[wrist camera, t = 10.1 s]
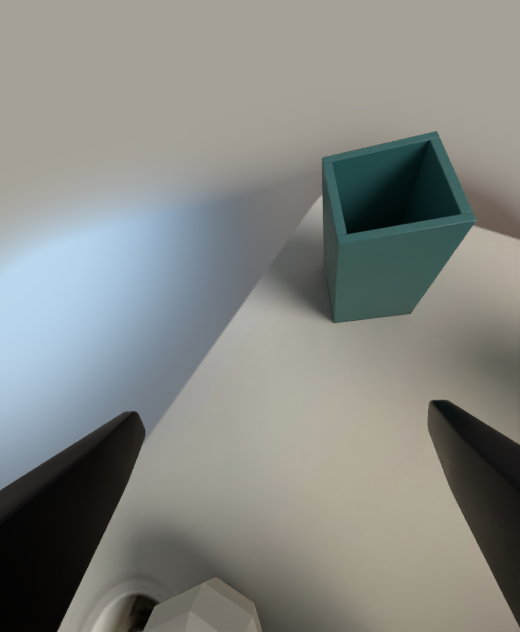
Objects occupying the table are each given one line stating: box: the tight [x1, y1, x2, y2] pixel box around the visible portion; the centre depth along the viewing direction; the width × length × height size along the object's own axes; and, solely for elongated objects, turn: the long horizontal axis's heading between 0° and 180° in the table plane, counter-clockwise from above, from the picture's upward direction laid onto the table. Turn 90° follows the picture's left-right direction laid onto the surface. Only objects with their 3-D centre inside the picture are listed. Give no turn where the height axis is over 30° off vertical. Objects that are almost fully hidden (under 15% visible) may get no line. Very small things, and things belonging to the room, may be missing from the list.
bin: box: [322, 131, 476, 323], centre depth 19 cm, size 6×6×11 cm
